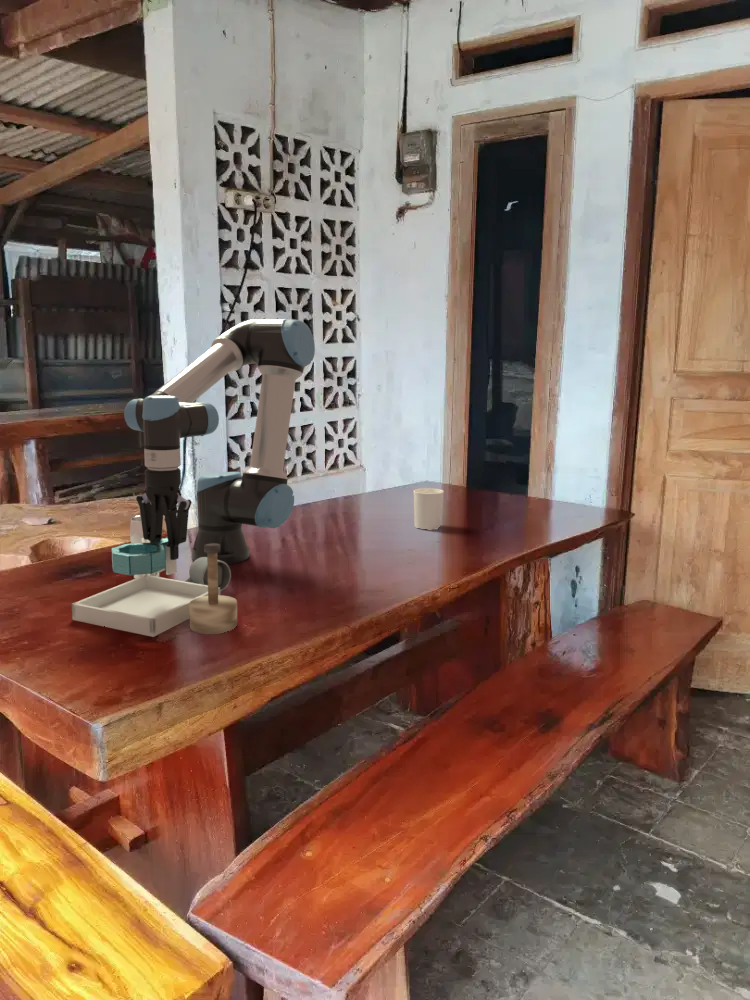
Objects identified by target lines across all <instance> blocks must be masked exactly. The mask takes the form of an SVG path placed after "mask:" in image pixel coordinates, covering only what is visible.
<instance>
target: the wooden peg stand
mask: <svg viewBox="0 0 750 1000" xmlns="http://www.w3.org/2000/svg"><path fill="white" fill-rule="evenodd" d="M204 552H205V553H207V564H208V596H203V597H199V598H196V599H194V600H192V601H191V602H190V604H189V607H190V618H189V627H190V630H191V631H193V632H194V633H197V634H202V635H220V634H225V633H228V632H227V631H229V632H231V631H233V630H235V629H236V628H237V627H238V600H237V599H236V598H234V597H233V596H228V595H223V594H222V595H221V594H220V595H218V563H217V553H218V552H220V544H215V543H211V544H206V545H204ZM236 626H237V627H236ZM235 627H236V628H235ZM234 628H235V629H234ZM232 629H233V630H232ZM230 630H231V631H230ZM224 632H225V633H224Z"/></svg>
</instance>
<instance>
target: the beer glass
mask: <svg viewBox="0 0 750 1000" xmlns="http://www.w3.org/2000/svg"><path fill="white" fill-rule="evenodd" d="M129 536H130V539H129V540H130V544H132V543H151V542H150V541H149V540H145V539H144V537H143V530H142V522H141V515H135V516H132V517H130V525H129ZM143 575H150V576H156V577H160V572H159V573H151V574H140V575H133V579H136V578H138V577H141V576H143Z"/></svg>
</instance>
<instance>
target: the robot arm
mask: <svg viewBox="0 0 750 1000" xmlns="http://www.w3.org/2000/svg"><path fill="white" fill-rule="evenodd" d="M315 346H316V345H315V339H314V335H313V333H312V330H311V329H310V328H309V326H308V325H307V323H305V322H304V321H302V320H299V319H291V318H283V319H282V318H280V319H277V318H275V319H274V318H273V319H272V318H271V319H270V318H265V319H263V318H254V319H248V320H244V321H242V322H240V323H238V324H237V325H235V326H233V327H230V329H228V330H226V331H224V332H223V333H222V334H220V335H219V336H218V337H216V338H215V339H214V340H213V341H212V343H211V345H210V348H209V349H208V350H206V351H205V352H204V353H203V354H201V355H200V356H199V357H197V358H196V359H195V360H194V361H192V362H191V363H190V364H189V365H187V366H186V367H185V368H184V369H182V370H181V371H180V372H178V373H177V374H176V375H174V377H172V378H171V379H170V380H169V381H167V382H165V384H163V385H162V386H160V387H159V388H158V389H157V390H155V392H153V393H151V394H150V395H148V396H146V397H144V398H135V399H131V400H129V402H127V404H126V406H125V408H124V413H123V415H124V421H125V423H126V426H128V428H130V429H132V430H134V431H139V432H143V447H144V449H143V450H144V451H143V452H144V467H146V468H145V470H144V483H145V484H144V485H145V486H146V491H145V493H144V494H140V495H137V496H136V497H135V499H136V502H137V504H138V506H139V514H140V515H141V522H142V530H143V537H144V539H145V540H149V541H150V542H151V543H152V542H155V541H158V540H161V539H164V538H163V524H164V523H163V522H165V526H166V527H165V528H166V535H167V537H168V544H166V545H167V546H165V549H166V560H165V569H162V570H160V571H157V572H155V573H159V574H160V573H161V572H163V571H165V575H166V576H170V575H173V574H175V573H177V569H178V568H177V567H178V566H177V560H178V559H179V557H180V556H179V552H180V551H179V550H180V549H179V548H180V547H179V546H180V544H183V543H185V542H187V538H188V537H187V535H188V525H189V510H190V508H191V506H192V503H193V502H192V500H191V499H186V498H185V497H183V496H182V493H181V490H180V487H181V485H182V484H181V483H182V474H181V473H182V472H181V469H180V468H179V467H180V466H181V465H182V463H181V462H182V461H181V460H182V458H181V439H183V438H192V437H204V436H206V435H210V434H213V433H214V432H215V431H216V430H217V428H218V426H219V421H220V420H219V419H220V418H219V417H220V416H219V412H218V410H217V408H216V407H215V406H214V405H213V404H211V403H210V402H202V401H197V402H195V401H196V400H197V399H199V398H200V397H201V396H203V395H204V394H205V393H206V392H207V391H209V390H210V389H211V388H212V387H213V386H215V385H216V384H217V383H218V382H220V381H221V379H222V378H224V377H225V376H227V375H228V374H230V372H236V371H239V370H240V369H241V368H242V367H244V366H247V365H251V364H252V365H253V364H257V369H258V371H259V372H260V373H261V384H260V390H259V391H260V392H259V397H258V406H257V413H256V422H255V428H254V435H253V444H252V449H251V457H250V463H249V467H248V468H246V469H245V470H244V471H243V472H240V471H225V472H224V471H223V472H216V473H209V474H204V475H202V476H200V477H199V478H198V479H197V485H196V500H197V506H196V507H197V524H198V526H197V529H198V530H197V533H196V537H195V540H194V543H193V547H192V548H191V549H192V550H191V556H192V560H193V562H194V561H195V560H196V559H198V558H201V557H207V553H205V552H204V545H206V544H211V543H215V544H220V552H218V553H217V560H220V561H223V562H225V563H226V564H227V565H232V564H237V563H240V562H244V561H245V560H247V559H248V558H249V557H250V549H249V546H248V543H247V539H246V536H245V534H244V531H243V525H246V526H247V525H248V526H254V527H258V528H262V529H266V528H268V529H276V528H279V527H281V526H283V524H285V522H286V521H287V520H288V519H289V518H290V516H291V514H292V512H293V509H294V504H295V494H294V491H293V490H294V489H293V488H292V487H291V486H290V485H289V484H288V480H289V478H288V476H287V475H286V473H284V466H285V458H286V451H287V446H288V445H287V443H288V436H289V428H290V423H291V415H292V409H293V408H292V407H293V401H294V393H295V387H296V381H297V380H298V379H299V378H300V377H301V376H302V375H303V370H304V367H308V366H309V365H310V364H311V363H312V362H313V359H314V357H315V351H316V347H315ZM140 515H139V516H140ZM164 520H165V521H164ZM167 537H166V538H167Z"/></svg>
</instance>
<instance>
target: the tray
mask: <svg viewBox="0 0 750 1000" xmlns="http://www.w3.org/2000/svg"><path fill="white" fill-rule="evenodd" d="M185 581H186V580H177V579H173V578H172V579H171V578H166V577H161V576H159V577H156V576H150V575H143V576H141V577H138V578H136V579H135V578H133V579H131V580H128V581H126V582H124V583H121V584H119V585H117V586H114V587H111V588H108V589H106V590H103V591H101V592H98V593H96V594H93V595H91V596H89V597H86V598H83V599H80V600H79V601H75V602H73V603H71V612H72V613H71V615H72V617H71V618H72V621H76V622H80V623H81V622H82V623H86V624H91V625H95V626H100V627H104V626H105V627H104V628H109V629H113V630H117V631H118V630H119V631H122V632H127V633H132V634H138V635H142V636H147V637H152V638H154V637H156V636H158V635H160V634H162V633H164V632H166V631H167V630H170V629H171V628H173V627H176V626H177V625H180V624H182V623H184V622H185V621H188V620H190V607H189V604H190V602H191V601H192V600H194V599H196V598H199V597H203V596H208V585H202V584H196V583H190V582H185ZM218 595H221V592H220V588H219V587H218Z"/></svg>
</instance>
